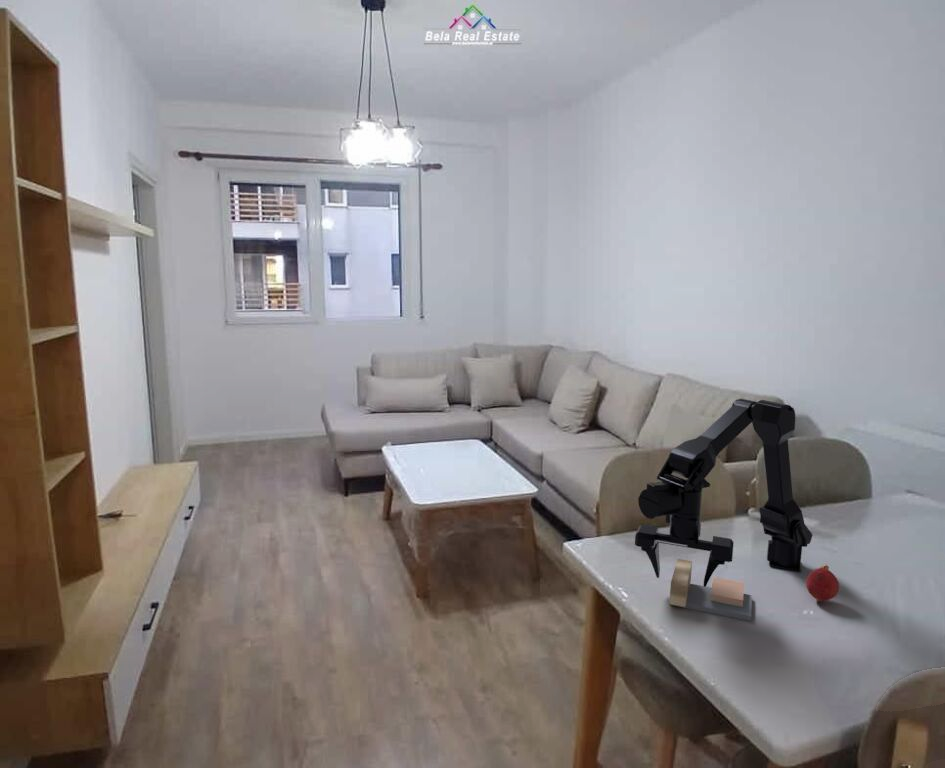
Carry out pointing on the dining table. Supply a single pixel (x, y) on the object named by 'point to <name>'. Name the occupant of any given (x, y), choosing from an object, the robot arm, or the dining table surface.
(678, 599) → the curved wooden plank
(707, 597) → the mat
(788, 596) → the dining table surface
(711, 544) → the robot arm
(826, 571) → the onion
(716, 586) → the tile
